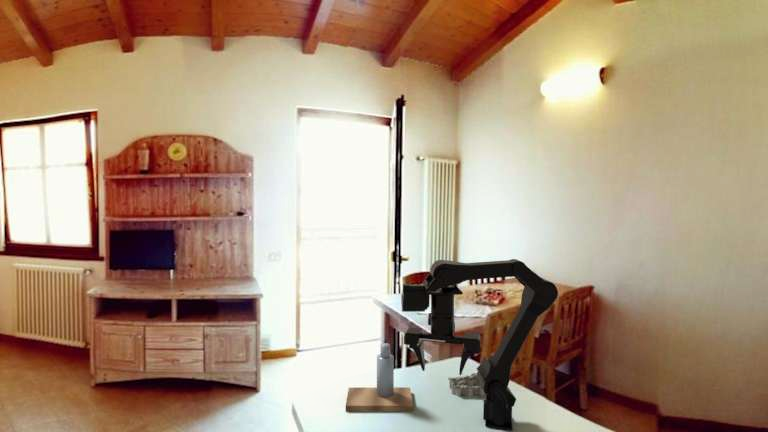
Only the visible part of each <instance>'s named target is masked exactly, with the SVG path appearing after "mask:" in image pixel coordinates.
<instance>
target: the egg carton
mask: <svg viewBox="0 0 768 432" xmlns="http://www.w3.org/2000/svg"><path fill="white" fill-rule="evenodd" d="M448 381H449V382H448V385H449V386H448V388H449V389H450V390H451V392H450V393H451V395H454V396H457V397H461V395H467V396H469V397H472V396H473V395H475V394H476V395H479V396H482V397H484V396H485V395H486V394H485V392H484V390H483V389H482V387H481V385H480V383H479V382H478V379H477V372H476V373H475V372H473V373H471V374H470V375H468V374H467V375H465V376H464V375H463V376H461V375H459V376H455V377H449V376H448Z"/></svg>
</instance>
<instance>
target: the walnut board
mask: <svg viewBox="0 0 768 432" xmlns="http://www.w3.org/2000/svg"><path fill="white" fill-rule="evenodd" d="M412 397H413V396H412V390H411V387H410V386H409V387H395V386H394V394H393V395H392V396H391V397H380V396H378V395H377V387H348V390H347V396H346V402H345V411H346V412H413V411H414V403H413V398H412Z"/></svg>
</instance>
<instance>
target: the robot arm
mask: <svg viewBox="0 0 768 432" xmlns="http://www.w3.org/2000/svg"><path fill="white" fill-rule="evenodd" d="M512 277H514V278H515V279H516V281H518V282H519V284H521V286H523V289H522V293H521V300H520V307H519V309H518V311H517V312H516V314H515V316H514V318H513V320H512V321H511V323H510V326H509V327H508V329H507V331H506V332H505V335H504V337H503V338H502V341H501V342H500V343H499V345H498V347H497V349H496V351H495V353H494V354H493V355H492V356H490V357H489V358H488V357H486V356H485V355H484V356H483V357H482V359H481V362H480V364H479V366H478V367H476V370H477V372H476V373H477V379H478V382H479V383H480V385H481V387H482V389H483V390H484V392H485V394H484V395H485V398H484V399H483V420H484V423H485V424H484V425H485V427H487V428H491V429H493V428H494V429H500V430H507V431H513V427H514V426H513V407H515V404H516V401H517V398H516V396H515V395H514V394H513V392H512V391H511V389H510V388H509V384H510V381H511V371H512V367H513V364H514V362H515V360H516V359H517V356H518V354H519V353H520V351H521V350H522V347H523V345H524V343H525V341H527V339H528V336H529V334H530V333H531V331H532V329H533V327H534V325H535V323H536V322H537V320H538V318H539V317H540V316H541V315H543V314H544V313H546V311H548V310H549V309H550V308H551V307H552V305H553V304H554V303H555V302H556V301H557V299H558V296H559V291H558V288H557V286H556V284H554V283H553V282H551V281H549V280H548V279H545V278H543V277H541V276H539V275H538V274H537V273H535V271H533V270H532V269H530V267H528V266H527V265H526V263H525V262H523V261H521V260H519V259H517V258H516V259H515V258H511V259H508V260H494V261H492V260H491V261H481V262H480V261H479V262H477V261H476V262H460V261H454V260H447V259H438V260H435V261H434V262H433V263H432V264H431V265H430V270H429V273H428V275H427V276H426V277H425V279H424V280H423V281H422V282H421V283H422V284H411V283H403V284H402V292H401V294H400V295H401V296H400V297H401V298H400V299H401V312H403V313H405V312H406V313H407V312H408V313H409V312H410V313H411V312H414V313H417V312H418V313H420V312H421V313H422V312H426V310H428V308H430V309H431V310H430V312H429V313H428V316H427V317H428V318H427V326H430V333H429V332H428V333H427V332H423V328H422V327H410V326H409V327H408V328H407V329H406V331H405V332H404V334H403V344H404V345H406V346H408V348H409V349H412V351H413V352H414V353H415V356H416V357H417V360H418V362H419V365H420V368H421V370H422V371H423V372H424V371H425V370H426V359H425V350H424V348H425V347H424V343H425V342H430V343H431V342H432V343H433V342H434V343H442V344H454V345H462V351H461V358H460V365H459V376H462V374H463V370H464V368H465V365H466V363H467V361H468V360H469V357H470V356H471V355H472V356H473V355H474V356H475V353H478V352H481V334H479V333H478V332H469V331H466V332H464V336H461V335H455V334H456V333H455V332H456V323H455V295H456V296H457V295H460V296H461V295H463V291H462V290H461V289H460V288H459V287H458V285H459V284H461V283H462V284H463V283H464V282H467V281H470V280H485V279H498V278H499V279H501V278H512ZM430 295H431V296H430Z"/></svg>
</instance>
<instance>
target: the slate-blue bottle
mask: <svg viewBox="0 0 768 432" xmlns="http://www.w3.org/2000/svg"><path fill="white" fill-rule="evenodd" d="M394 358H395V357H394V355H393V354H391V345H390V343H387V342H385V343H381V344H380V354H377V355H376V388H377V395H378V396H380V397H391V396H392V395H393V394H394V387H395V386H394V382H395V381H394V379H395V378H394V376H395V373H394V370H395V369H394V367H395V365H394V364H395V363H394V362H395V361H394V360H395V359H394Z"/></svg>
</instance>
